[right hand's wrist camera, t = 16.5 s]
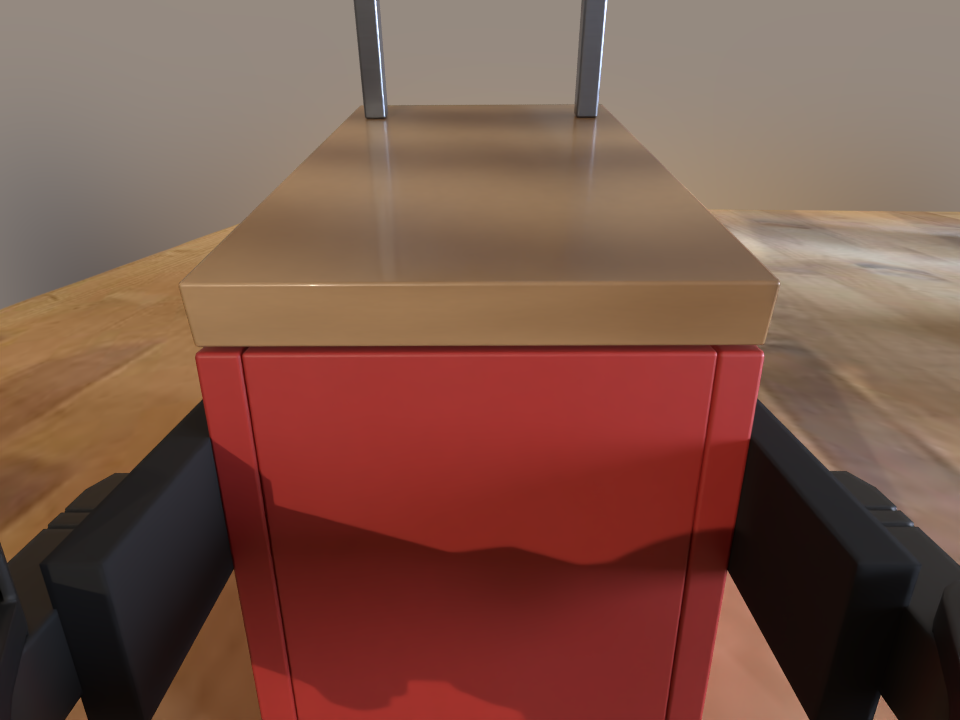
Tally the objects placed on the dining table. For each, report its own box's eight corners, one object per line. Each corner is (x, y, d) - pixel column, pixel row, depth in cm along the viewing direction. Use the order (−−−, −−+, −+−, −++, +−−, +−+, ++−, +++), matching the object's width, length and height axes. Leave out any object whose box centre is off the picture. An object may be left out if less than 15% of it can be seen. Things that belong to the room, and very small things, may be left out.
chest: (380, 428, 28) (365, 213, 24) (583, 428, 28) (597, 211, 24) (269, 770, 13) (190, 353, 10) (694, 771, 13) (768, 352, 10)
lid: (362, 136, 24) (333, -158, 19) (599, 135, 24) (626, -161, 19) (194, 347, 10) (-55, -533, 5) (765, 346, 10) (1005, -545, 5)
